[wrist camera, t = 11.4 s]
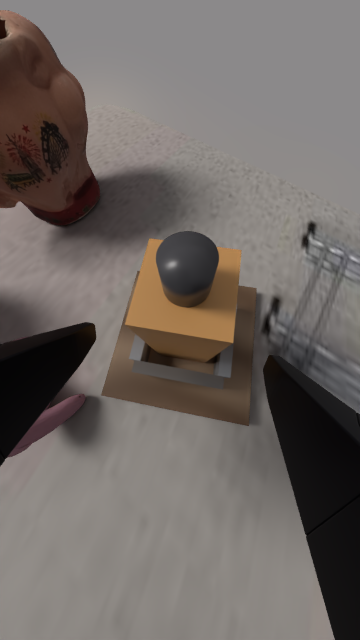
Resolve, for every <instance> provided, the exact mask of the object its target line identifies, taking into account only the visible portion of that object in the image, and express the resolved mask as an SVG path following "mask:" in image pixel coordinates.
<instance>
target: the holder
mask: <svg viewBox="0 0 360 640" xmlns="http://www.w3.org/2000/svg"><path fill="white" fill-rule="evenodd" d="M139 273H140V271H138V272H137V275H136V278H135V282H134V285H133V289H132V292H131V295H130V299H129V302H128V306H127V309H126V312H125V316H124V319H123V323H122V326H121V330H120V333H119V336H118V340H117V343H116V347H115V350H114V353H113V357H112V360H111V364H110V367H109V370H108V374H107V377H106V381H105V384H104V387H103V391H102V394H101V395H102V396H107V397H112V398H117V399H122V400H126V401H131V402H136V403H141V404H146V405H150V406H155V407H160V408H165V409H170V410H174V411H179V412H184V413H189V414H194V415H198V416H203V417H208V418H213V419H218V420H222V421H227V422H232V423H237V424H242V425H246V426H249V411H250V394H251V376H252V359H253V341H254V324H255V306H256V289H257V288H251V287H244V286H238V295H237V306H236V317H235V329H234V340H233V343H232V344H231V345H230V346H228V347H227V348H225V349H224V350H222V351H221V352H220V353H218V354H217V355H215V356H214V357H212V358H211V359H210V360H208V361H207V362H205V363H202V362H196V361H191V360H185V359H180V358H174V357H169V356H163V355H159V354H158V353H157V352H156V351H155V350H154V349H152V348H151V347H150V346H149V345H148V344H147V343H146V342H144V341H143V340H142V339H141V338H140V337H139V336H137V335H136V334H135V333H134V332H133V331H132V330H130V329H129V328H128V327H127V326H126V325H125V322H126V318H127V315H128V311H129V308H130V304H131V301H132V297H133V294H134V290H135V287H136V283H137V280H138V276H139Z"/></svg>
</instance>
